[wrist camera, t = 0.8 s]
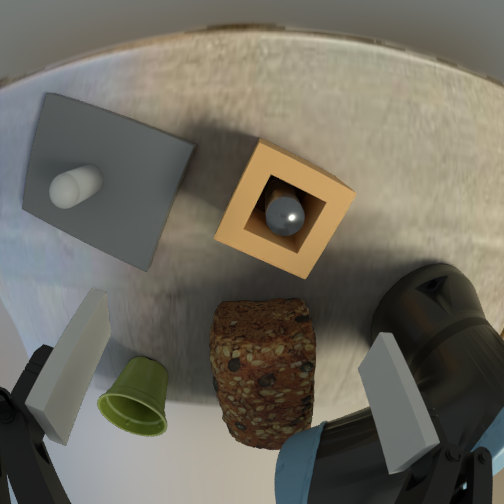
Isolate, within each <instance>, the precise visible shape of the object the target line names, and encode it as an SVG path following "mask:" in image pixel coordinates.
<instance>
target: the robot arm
mask: <svg viewBox="0 0 504 504" xmlns="http://www.w3.org/2000/svg"><path fill="white" fill-rule="evenodd" d="M371 335H372V340H373V345H372V346H371V348H370V350H369V351H368V353H367V355H366V356H365V358H364V360H363V361H362V363H361V364H360V366H359V367H358V370H359V373H360V376H361V379H362V382H363V385H364V388H365V392H366V395H367V398H368V401H369V404H370V406H369V407H367V408H364V409H362V410H359V411H357V412H354V413H351V414H349V415H346V416H344V417H341V418H338V419H335V420H332V421H329V422H327V421H323V422H322V423H321V424H320V425H318V426H315V427H312V428H309V429H307V430H304V431H301V432H298V433H296V434H293V435H292V436H290V437H289V438H288V439H287V440H286V441H285V443H284V444H283V446H282V447H281V449H280V452H279V455H278V459H277V463H276V472H275V498H276V504H492V487H493V486H492V485H493V484H492V483H493V480H492V479H493V476H494V475H495V474H496V473H497V472H499V471H500V470H501V469H502V468H503V467H504V340H503V339H502V338H501V337H500V335H499V334H498V333H497V332H496V331H495V329H494V328H493V327H492V326H491V325H490V324H489V322H488V321H487V320H486V318H485V315H484V312H483V309H482V307H481V304H480V301H479V298H478V296H477V293H476V291H475V288H474V286H473V285H472V283H471V282H470V280H469V279H468V278H467V277H466V276H465V275H464V274H463V273H462V272H461V271H459V270H458V269H457V268H455V267H453V266H450V265H446V264H434V265H429V266H425V267H422V268H420V269H417V270H415V271H413V272H411V273H410V274H408V275H407V276H405V277H404V278H402V279H401V280H400V281H399V282H398V283H396V284H395V285H394V286H393V287H392V288H391V289H390V290H389V292H388V293H387V294H386V295H385V297H384V298H383V299H382V301H381V302H380V304H379V306H378V308H377V310H376V312H375V315H374V318H373V321H372V327H371ZM110 336H111V327H110V319H109V311H108V301H107V291H104V290H100V289H95V288H91V290H90V291H89V293H88V294H87V296H86V297H85V299H84V300H83V302H82V303H81V305H80V307H79V308H78V310H77V311H76V313H75V314H74V316H73V318H72V319H71V321H70V322H69V324H68V326H67V327H66V329H65V330H64V332H63V334H62V335H61V337H60V339H59V341H58V342H57V344H56V346H55V347H54V348H53V347H50V346H47V345H44V344H43V345H42V346H41V347H40V348H38V349H37V350H36V351H35V352H34V353H33V355H32V357H31V358H30V360H29V363H27V365H26V367H25V370H23V372H22V374H21V376H20V377H19V379H18V381H17V383H16V385H15V386H14V388H13V390H12V392H11V394H10V392H8V391H7V390H6V389H5V388H2V387H0V504H11V500H10V494H9V488H8V481H7V475H8V478H9V481H10V484H11V486H12V489H13V492H14V494H15V497H16V500H17V502H18V504H71V502H70V500H69V499H68V497H67V494H66V493H65V490H64V489H63V487H62V484H61V482H60V480H59V478H58V476H57V473H56V471H55V469H54V467H53V464H52V462H51V459H50V457H49V454H48V452H47V450H46V447H45V444H44V442H43V437H44V435H45V434H46V435H47V437H48V438H49V439H50V440H52V441H54V442H57V443H59V444H62V445H64V446H66V445H67V442H68V439H69V436H70V433H71V430H72V428H73V425H74V422H75V420H76V417H77V414H78V412H79V409H80V406H81V404H82V401H83V399H84V396H85V394H86V391H87V389H88V386H89V384H90V382H91V379H92V377H93V375H94V372H95V370H96V367H97V365H98V363H99V361H100V358H101V356H102V354H103V352H104V349H105V347H106V345H107V343H108V341H109V338H110ZM6 472H7V473H6Z"/></svg>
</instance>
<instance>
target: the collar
mask: <svg viewBox="0 0 504 504" xmlns="http://www.w3.org/2000/svg"><path fill="white" fill-rule="evenodd" d="M270 175H274V176H276V177H278V178H280V179H282V180H284V181H286V182H288V183H290V184H292V185H294V186H296V187H298V188H300V189H302V190H304V191H306V192H307V193H306V195H305V197H304V199H303V201H302V203H301V206H302V208H303V211H304V215H305V219H304V223H303V226H302V227H301V229H300V230H299V231H298V232H296V233H294V234H292V235H289V236H281V235H278V234H276V233H274V232H272V231H271V230H270V228H269V227H268V225H267V222H266V213H265V212H263V211H261V210H259V209H256V208H254V206H255V204H256V202H257V200H258V198H259V196H260V194H261V192H262V190H263V188H264V186H265V185H266V183H267V181H268V179H269V177H270ZM356 194H357V193H356V192H355V191H353V190H352V189H351V188H350V187H348V186H347V185H346V184H345V183H343V182H342V181H341V180H340V179H338V178H337V177H336V176H334V175H332V174H330V173H329V172H327V171H325V170H323V169H321V168H319V167H317V166H316V165H314V164H312V163H310V162H308V161H306V160H304V159H302V158H300V157H298V156H296V155H294V154H292V153H290V152H288V151H286V150H284V149H282V148H280V147H278V146H276V145H274V144H272V143H270V142H268V141H266V140H264V139H262V138H259V140H258V142H257V144H256V146H255V148H254V150H253V153H252V155H251V157H250V159H249V161H248V163H247V165H246V167H245V169H244V171H243V173H242V175H241V177H240V179H239V181H238V184H237V186H236V188H235V190H234V192H233V194H232V196H231V198H230V200H229V203H228V205H227V207H226V209H225V211H224V214H223V216H222V219H221V221H220V224H219V226H218V229H217V231H216V234H215V236H214V239H215V240H217V241H219V242H222V243H224V244H226V245H228V246H231V247H233V248H235V249H237V250H240V251H242V252H244V253H246V254H249V255H251V256H253V257H256V258H258V259H260V260H262V261H265V262H267V263H269V264H271V265H274V266H276V267H278V268H280V269H283V270H285V271H287V272H289V273H292V274H294V275H296V276H298V277H301V278H303V279H306V278H307V276H308V275H309V273H310V271H311V270H312V268H313V267H314V265H315V263H316V262H317V260H318V258H319V257H320V255H321V254H322V252H323V250H324V249H325V247H326V245H327V244H328V242H329V240H330V239H331V237H332V235H333V234H334V232H335V230H336V229H337V227H338V225H339V223H340V222H341V220H342V218H343V217H344V215H345V213H346V211H347V210H348V208H349V206H350V204H351V203H352V201H353V199H354V197H355V196H356Z"/></svg>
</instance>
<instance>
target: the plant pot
mask: <svg viewBox="0 0 504 504" xmlns="http://www.w3.org/2000/svg"><path fill="white" fill-rule="evenodd" d="M167 382H168V374H167V371H166V370H165V368H164V367H163V366H162V365H161V364H159V363H158V362H156V361H152V360H149V359H147V358H145V357H135V358H132V359H131V360H130V361H129V362H128V364H127V365H126V367H125V368H124V370H123V371H122V373H121V374H120V375H119V377H118V378H117V380H116V381H115V383H114V384H113V386H112V387H111V389H109V390H108V391H107V392H106V393H104V394H102V395H101V396H100V397H99V399H98V401H97V405H98V408H99V410H100V412H101V414H102V415H103V416H104V417H105V418H106V419H107V420H108V421H110V422H111V423H112V424H114V425H115V426H117V427H118V428H120V429H122V430H125V431H127V432H130V433H133V434H136V435H141V436H158V435H161V434H163V433H164V432H165V431H166V429H167V421H166V418H165V411H164V408H165V398H166V390H167Z"/></svg>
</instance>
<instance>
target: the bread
mask: <svg viewBox="0 0 504 504" xmlns="http://www.w3.org/2000/svg"><path fill="white" fill-rule="evenodd" d="M213 321H214V322H213V324H212V326H211V328H210V332H209V333H210V344H209V346H210V362H211V368H212V373H213V375H214V376H213V379H214V380H213V385H214V388H215V391H216V392H217V395H216V397H217V399H218V401H219V404H220V407H221V408H222V411H223V417H222V419H223V421H224V422H225V423H226V424H227V427H228V429H229V433H230V434H231V435H232V437H234V438H235V439H236V441H238V442H241V443H242V444H245V445H247V446H251V447H256V448H259V449H262V448H264V449H268V450H279V449H281V447H282V446H283V444H284V443H285V441H286V440H287V439H288V438H289V437H290V436H292V435H293V434H296V433H298V432H301V431H304V430H307V429H309V428H311V422H312V416H313V402H314V383H315V382H314V373H315V367H316V337H315V332H314V328H313V326H312V318H310V317H309V310H308V308H306V304H305V302H304V301H303V300H302V299H298V298H292V299H290V300H287V299H282V298H277V299H272V300H269V301H262V302H251V301H247V300H246V301H236V302H232V301H227V302H222V303H221V304H220V305H218V308H217V309H216V311H215V313H214V316H213Z"/></svg>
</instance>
